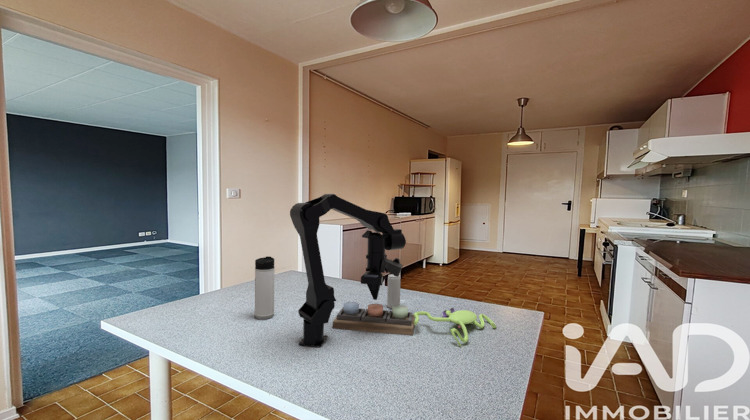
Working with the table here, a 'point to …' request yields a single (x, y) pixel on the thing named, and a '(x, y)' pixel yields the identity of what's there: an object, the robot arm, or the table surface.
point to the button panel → (374, 322)
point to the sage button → (399, 311)
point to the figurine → (458, 321)
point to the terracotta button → (375, 310)
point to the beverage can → (393, 291)
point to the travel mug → (264, 288)
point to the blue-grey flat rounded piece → (351, 308)
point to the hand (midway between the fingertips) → (375, 299)
